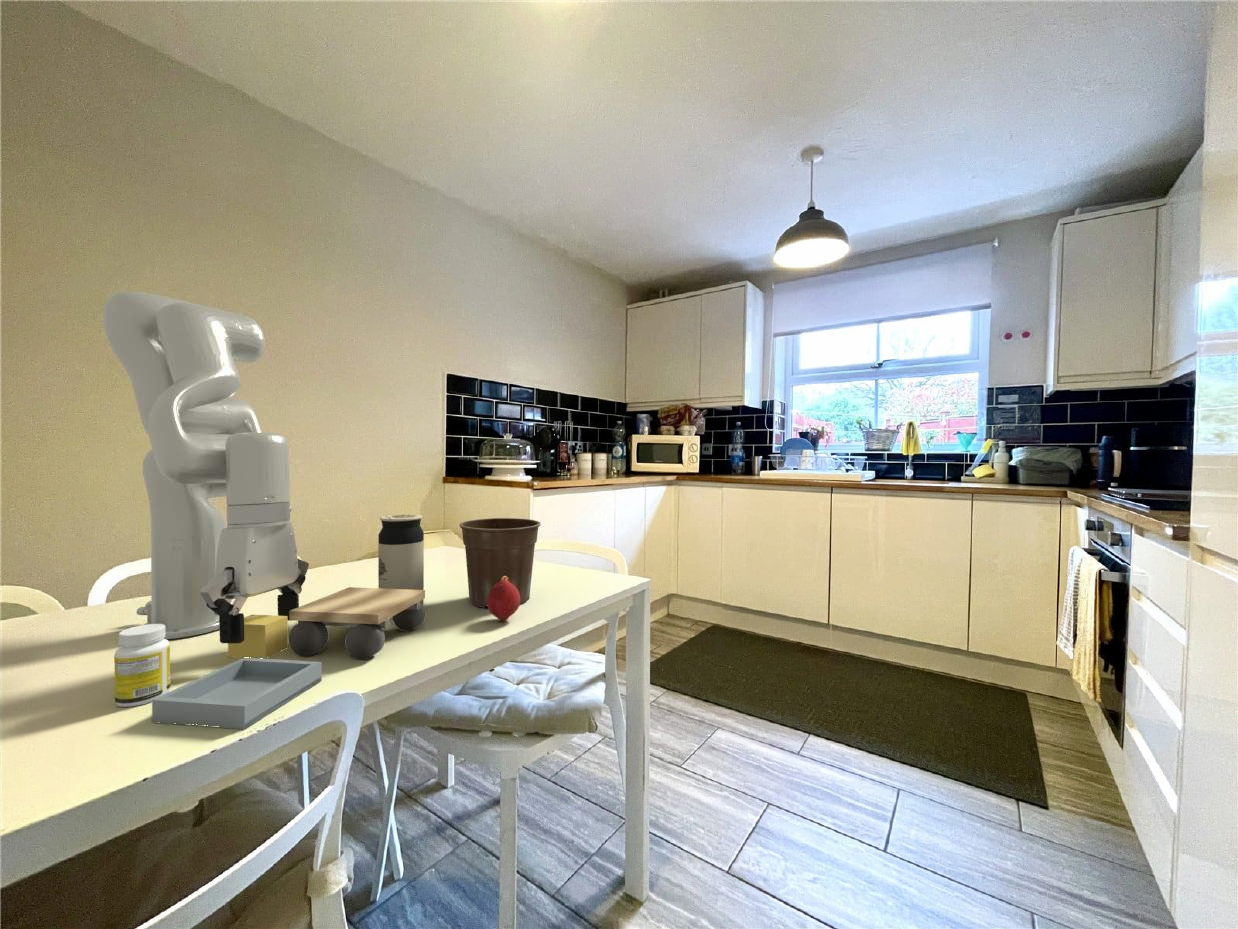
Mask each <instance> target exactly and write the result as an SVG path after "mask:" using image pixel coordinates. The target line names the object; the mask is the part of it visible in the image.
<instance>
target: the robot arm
mask: <svg viewBox="0 0 1238 929" xmlns="http://www.w3.org/2000/svg"><path fill="white" fill-rule="evenodd" d="M102 317H103V328H104V332H105V335H106V338H107V341H108V344H109V345H110V348H111V350H112V351H113V353H114V355H115V357H116V358H117V359H118V361H119V363H120V364H121V365H122V367H123V369H124V370H125V372H126V374H128V377H129V379H130V382H131V387H132V390H133V394H134V397H135V403H136V405H137V408H138V412H139V416H140V420H141V423H142V426H143V427H144V430H145V432H146V434H147V435H148V439H149V443H150V445H151V450H148V452H147V453H146V455H145V456H144V458H143V461H142V475H143V480H144V485H145V488H146V493H147V497H148V498H147V499H148V504H149V513H150V514H149V515H150V541H151V542H150V553H151V554H150V560H151V561H150V566H151V567H150V570H151V572H150V583H151V584H150V589H151V590H150V593H151V594H150V597H151V599H150V600H149V601H147V602H146V603H145V605H144V606H140V607H137V610H136V612H135V613H136V614H137V616H147V617H146V618H147V619H146V623H144V624H143V625H147V624H164V625H165V633H166V634H165V637H164V638H163V639H166V640H172V639H173V640H175V639H181V638H182V639H183V638H188V637H193V636H197V635H203V634H207V633H210V632H214V631H218V630H219V642H220V643H221V644H228V643H241V642H243V641H244V617H245V615H244V613H243V612H242V613H241V610H242V608H243V607H244V605H245V603H246V601H247V599H248V598H250V597H256V596H258V595H262V594H265V593H269V592H272V591H275V590H277V591H278V592H279V593H280V594H277V616H288V622H291V621H292V622H293V621H295V620H289V611H290V610H293V609H295V608H298V607H300V605H299V604H300V598H299V597H300V596H299V595H300V594H301V593H302V591H303V588H302V586H303V584H304V583H305V581H306V575H307V573H308V570H309V566H310V565H309V564H310V563H309V562H307V561H305V560H302V559H300V558H298V551H297V550H298V549H297V541H296V535H295V530H294V527H293V526H294V525H293V522H292V521H291V512H292V507H291V502H290V501H291V499H290V498H291V494H290V458H289V457H290V455H289V454H290V453H289V452H290V451H289V443H288V440H287V438H286V437H285V436H284V435H282V434H280V433H273V432H272V433H271V432H263V430H262V427H261V424H260V420H259V417H258V415H257V413H256V411H255V409H254V408H253V406H252V405H251V404H250V403H248V402H247V401H246V400H244V399H242V398H239V397H235V396H234V395H235V394H237V392H238V391H239V390H240V388H241V386H242V379H241V375H240V373H239V371H238V367H237V366H236V362H240V363H246V364H248V363H255V362H257V361H258V360H260V359H261V358H262V356H263V355H264V352H265V349H266V338H265V334H264V332H263V330H262V328H261V326H260V325H259V324H258V323H257V322H256V321H255V320H254V319H253V318H252V317H249V316H247V315H243V314H238V313H236V312H231V311H227V310H223V309H219V308H215V307H211V306H206V305H202V304H199V303H193V302H189V301H185V300H182V299H177V298H172V297H170V296H169V297H168V296H166V295H165V296H164V295H160V294H155V293H150V292H144V291H131V290H130V291H128V290H127V291H120V292H119V291H118V292H115V293H113V294H111V295H110V296H109V297H108V298H107V300H106V301H105V304H104V306H103V316H102ZM224 497H226V520H225V517H224V516H223V515H222V514H221V512H220V511H219V510H218V509H217V508H216V507H215V506H213V504H212V503H211V502H210V501H209V499H212V498H224ZM226 524H227V525H226ZM233 600H234V601H233Z"/></svg>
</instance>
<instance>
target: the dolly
mask: <svg viewBox="0 0 1238 929" xmlns="http://www.w3.org/2000/svg"><path fill="white" fill-rule="evenodd" d="M425 598H426V590H425V589H424V590H408V589H381V588H378V587H377V588H375V587H355V586H353V587H350V586H349V587H345V588H344V589H341V590H339V591H336V592H334V593H331V594H328V595H326V596H323V597H321V598H319V599H316V600H314V601H311V602H309V603H305V604H304V605H299V607H298V608H295V609H293V610H290V611H289V620H295V621H297V623H296V624H295V625H293V627H292V628H291V629H290V630H289V633H288V645H289V647H290V649H291V651H292V652H293V653H294V654H295V655H297V656H300V657H303V658H306V657H310V656H312V655H314V654H317V653H318V652H320V651H321V650H323V649H324V648H325V647H326V646H327V644H328V643H329V642H328V641H329V636H330V635H329V631H328V630H329V629H328V627H341V628H343V627H344V628H350V629H349V630H348V631H347V633H346V636H345V639H344V642H345V643H344V644H345V648H346V650H347V652H348V654H349V655H350V656H351V657H352V658H354V659H356V660H360V661H363V660H364V661H365V660H368V659H370V658H372V657H373V656H375V655H376V654H377V653H380V651H382V649H383V647H384V645H385V642H386V636H385V632H384V630H385V629H388V628H390V619H391V618H392V622H393V624H394V626H395V627H396V628H397V629H399V630H400V631H402V632H411V631H413V630H414V629H416V628H418V627H419V626H421V625H422V624H423V622H424V620H425V619H426V615H427V614H426V609H425V606H424V605H423V604H422V603H421V602H420V601H421V600H423V599H425ZM383 629H384V630H383Z"/></svg>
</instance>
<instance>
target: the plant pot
mask: <svg viewBox="0 0 1238 929" xmlns="http://www.w3.org/2000/svg"><path fill="white" fill-rule="evenodd" d="M540 526H541V521H539V520H535V519H529V518H516V517H515V518H514V517H513V518H511V517H494V518H493V517H492V518H491V517H490V518H479V519H471V520H466V521H463V522H460V523H459V528H460V529H461V533H462V541H463V542H462V544H463V545H464V549H465V550H464V551H465V560H466V571H467V575H466V576H467V583H468V584H467V586H468V599H469V600H468V601H469V603H470V604H472V606H475V607H479V608H483V609H484V608H487V607H488V606H487V597H488V595H489V592H490V591H491V589H492V588H493V587H494V586H495V585H496V584H497V583H499V582H500V580H501V578H502V577H503V576H507V577H508V582H510V583H512V584H513V585H514V586H515V587H516V588H517V589H518V591H519V593H520V605H523V604H525V603H527V601H528V600H529V599H530V596H531V584H532V577H533V576H532V575H533V566H534V558H535V557H534V556H535V554H534V553H535V547H536V543H537V541H538V535H539V534H538V533H539V532H538V531H539V527H540Z"/></svg>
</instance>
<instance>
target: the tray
mask: <svg viewBox="0 0 1238 929" xmlns="http://www.w3.org/2000/svg"><path fill="white" fill-rule="evenodd" d="M321 682H322V661H312V660H311V661H310V660H309V661H307V660H293V659H291V660H290V659H274V658H266V659H260V658H239V659H237V660H236V661H234V662H231V663H229V664H227V665H225V666H222V667H220V668H218V669H216V670H214V671H212V672H209V673H208V674H205V675H203V676H201V677H199V678H196V679H195V680H192V681H190V682H187V683H186V684H184V685H181V686H179V687H177V688H175V689H172V690H170V691H169V692H168V693H166V694H164V695H162V696H160V697H157V698H155V699H153V700H152V702H151V706H152V707H151V718H152V719H151V720H152V722H156V723H157V722H160V723H159V724H165V723H172V724H171V725H178V724H191V725H190V726H192V724H194V725H196V724H197V725H206V726H207V725H208V726H219V727H224V728H223V729H234V730H246V729H248V728H249V727H251V726H252V725H254V724H256V723H258V722H259V721H261V720H262V719H264V718H265V717H266V716H269V715H270V714H272V713H273V712H275V711H276V710H278V709H280V708H281V707H282V706H284V705H285V704H288V703H289V702H291V701H293V699H295V698H297V697H298V696H301V695H302V694H304V693H305V692H307V691H308V690H309V689H311V688H313V687H315V686H316V685H318V684H319V683H321ZM152 722H151V723H152ZM174 723H176V724H174ZM157 724H158V723H157Z"/></svg>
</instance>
